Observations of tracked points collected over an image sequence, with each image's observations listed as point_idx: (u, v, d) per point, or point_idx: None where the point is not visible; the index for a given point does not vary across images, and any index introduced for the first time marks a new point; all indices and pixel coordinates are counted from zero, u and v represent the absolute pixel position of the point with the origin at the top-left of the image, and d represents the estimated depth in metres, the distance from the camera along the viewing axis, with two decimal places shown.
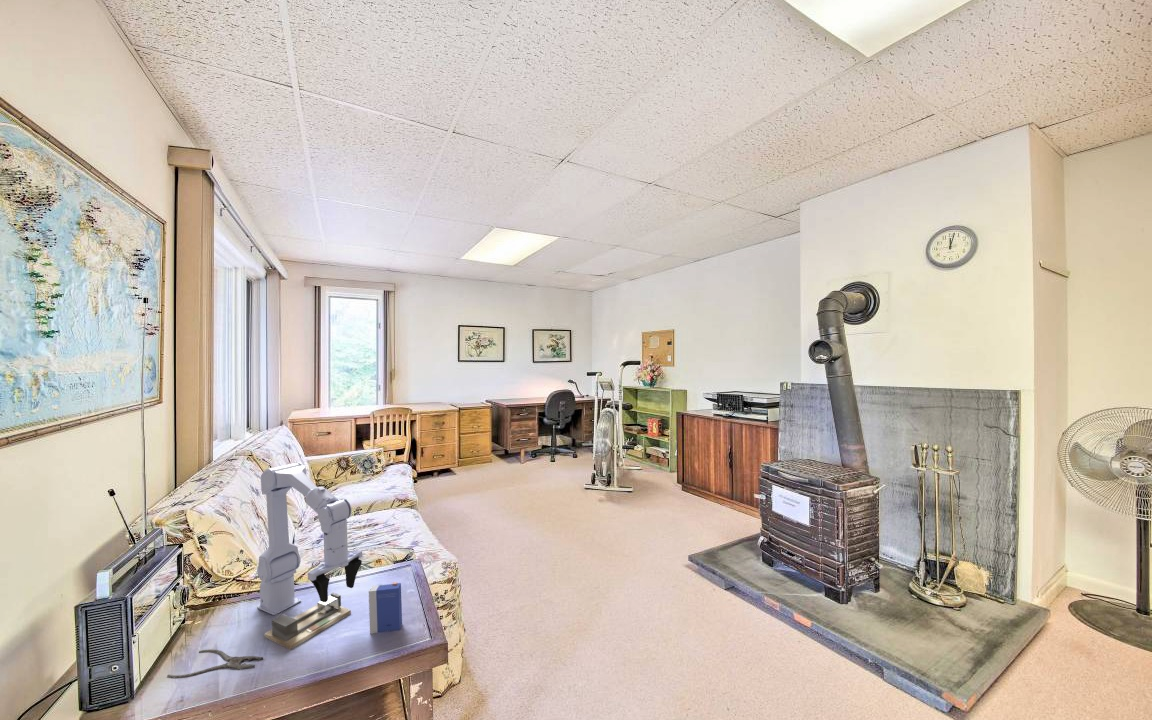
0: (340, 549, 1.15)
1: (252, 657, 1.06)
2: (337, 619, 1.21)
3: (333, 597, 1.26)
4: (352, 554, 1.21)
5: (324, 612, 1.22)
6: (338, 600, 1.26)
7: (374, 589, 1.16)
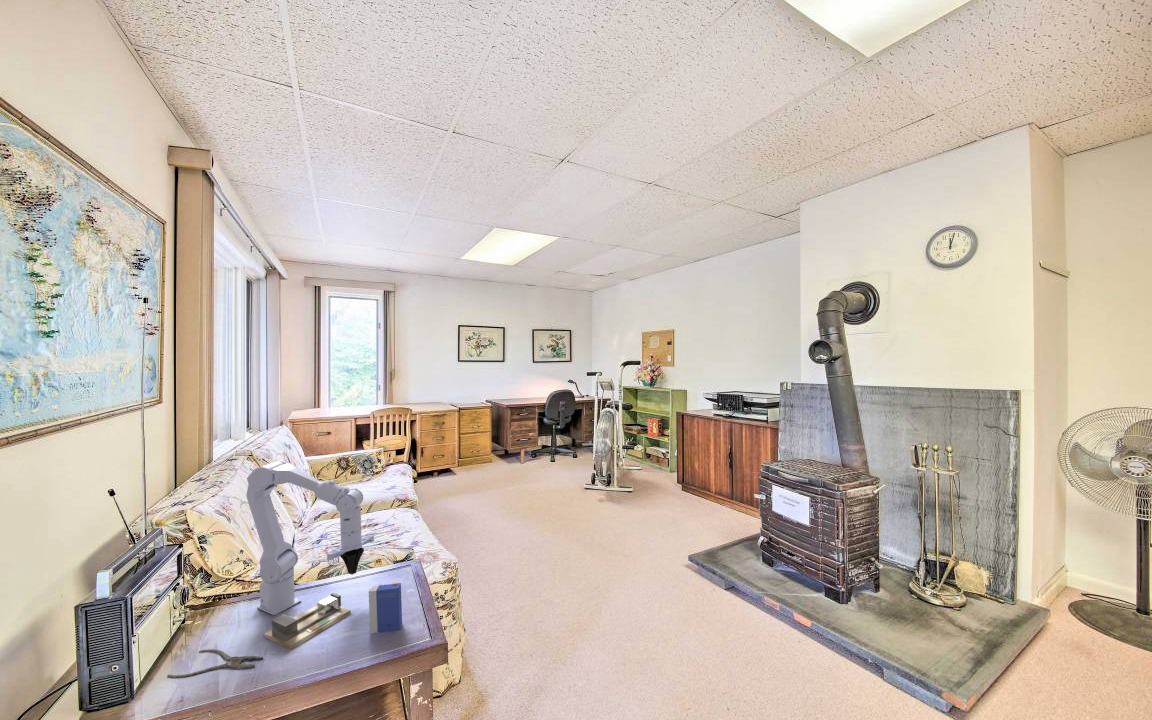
0: (355, 533, 1.30)
1: (252, 657, 1.06)
2: (337, 619, 1.21)
3: (333, 597, 1.26)
4: (365, 538, 1.36)
5: (324, 612, 1.22)
6: (338, 600, 1.26)
7: (374, 589, 1.16)
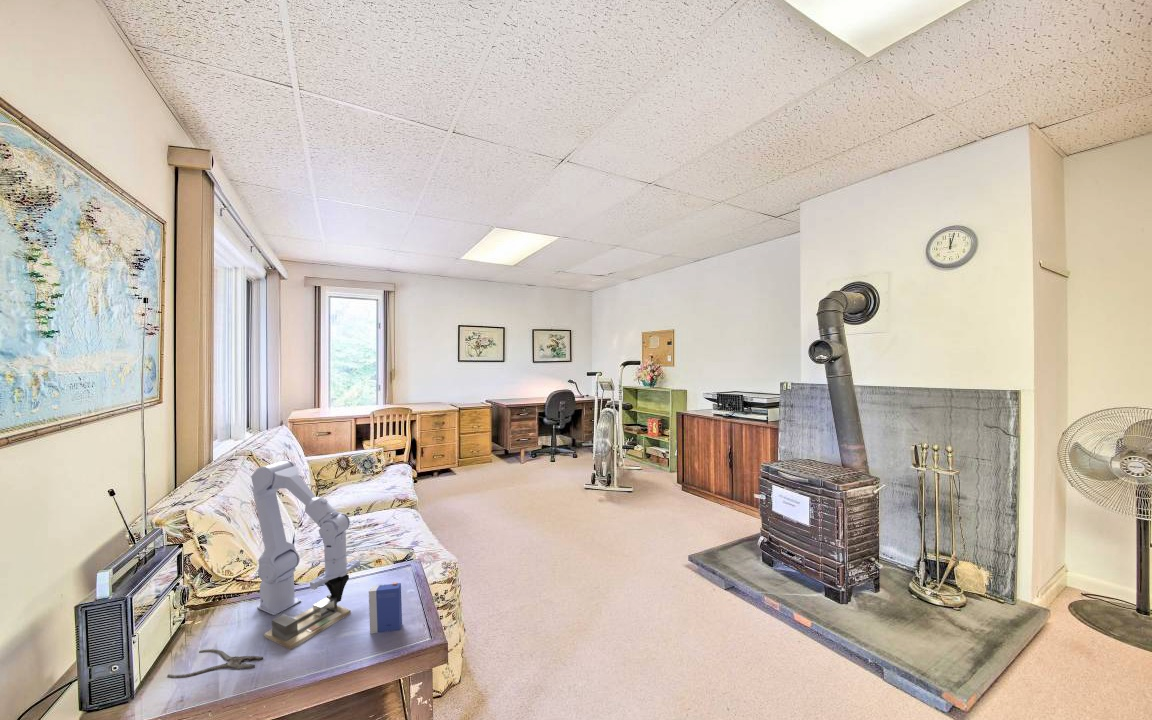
0: (339, 560, 1.25)
1: (252, 657, 1.06)
2: (337, 619, 1.21)
3: (329, 599, 1.25)
4: (350, 564, 1.31)
5: (320, 614, 1.21)
6: (334, 602, 1.25)
7: (374, 589, 1.16)
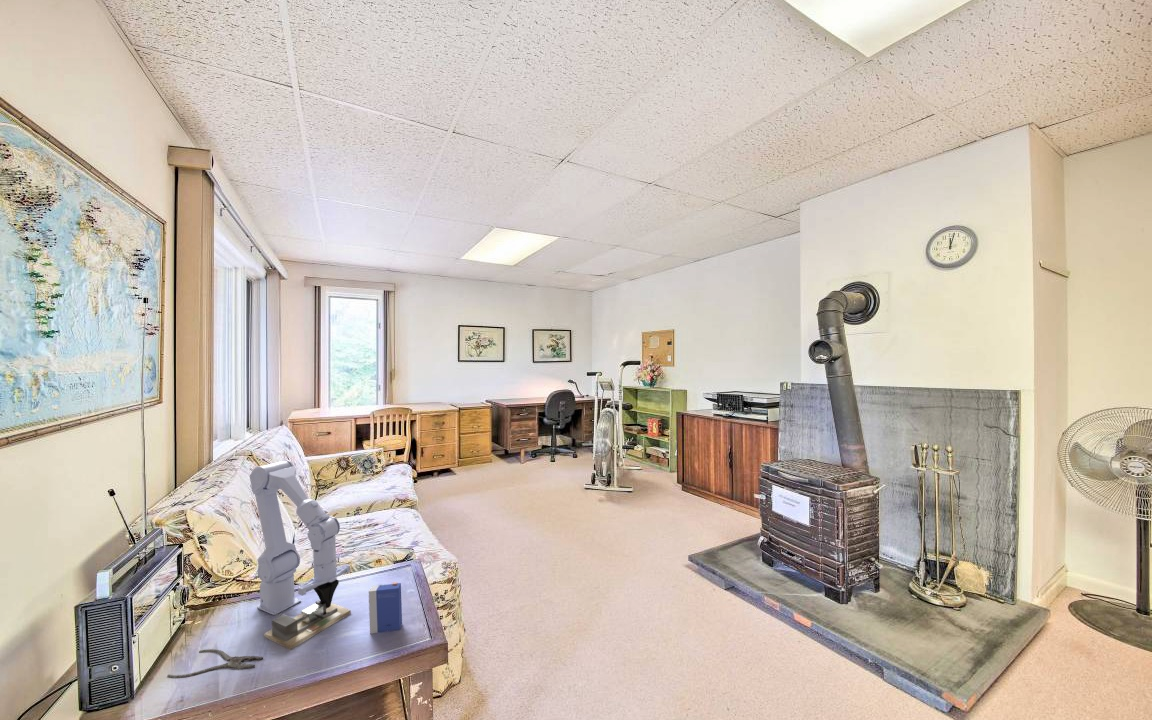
0: (329, 565, 1.23)
1: (252, 657, 1.06)
2: (337, 619, 1.21)
3: (318, 605, 1.22)
4: (340, 569, 1.28)
5: (308, 621, 1.18)
6: (323, 608, 1.22)
7: (374, 589, 1.16)
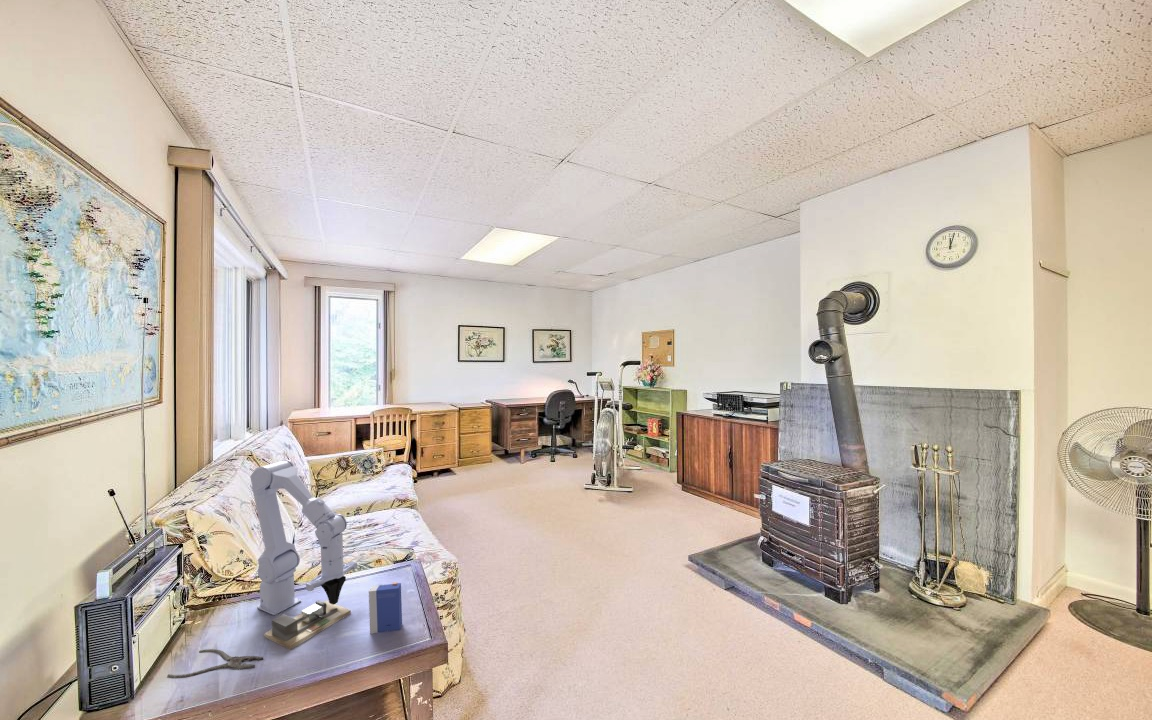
0: (336, 561, 1.24)
1: (252, 657, 1.06)
2: (337, 619, 1.21)
3: (318, 605, 1.22)
4: (347, 565, 1.30)
5: (308, 621, 1.18)
6: (323, 608, 1.22)
7: (374, 589, 1.16)
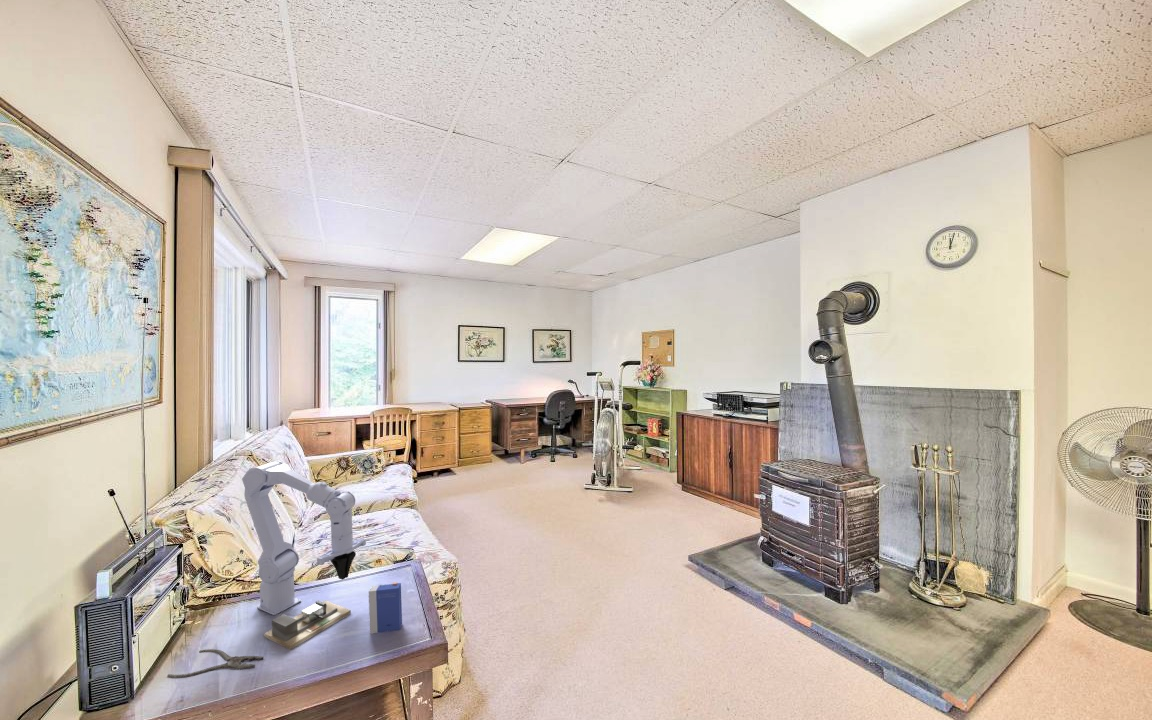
0: (346, 537, 1.27)
1: (252, 657, 1.07)
2: (337, 619, 1.21)
3: (318, 605, 1.22)
4: (356, 542, 1.33)
5: (308, 621, 1.18)
6: (323, 608, 1.22)
7: (374, 589, 1.16)
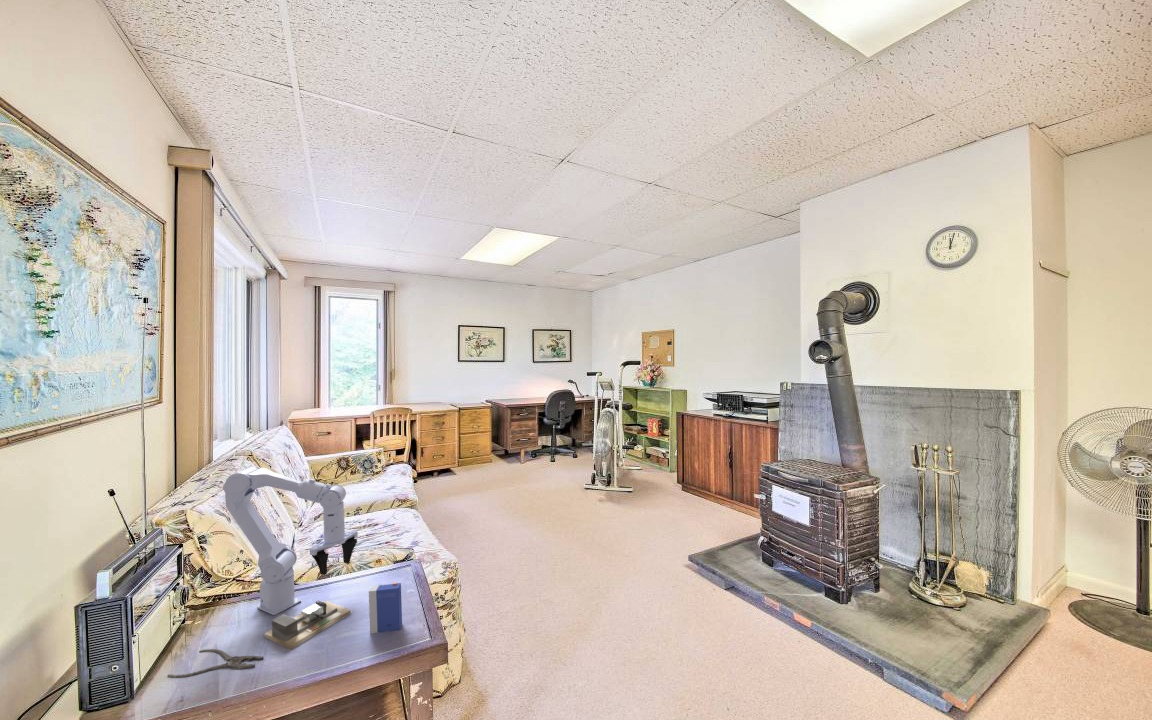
0: (338, 528, 1.31)
1: (252, 657, 1.07)
2: (337, 619, 1.21)
3: (318, 605, 1.22)
4: (348, 534, 1.37)
5: (308, 621, 1.18)
6: (323, 608, 1.22)
7: (374, 589, 1.16)
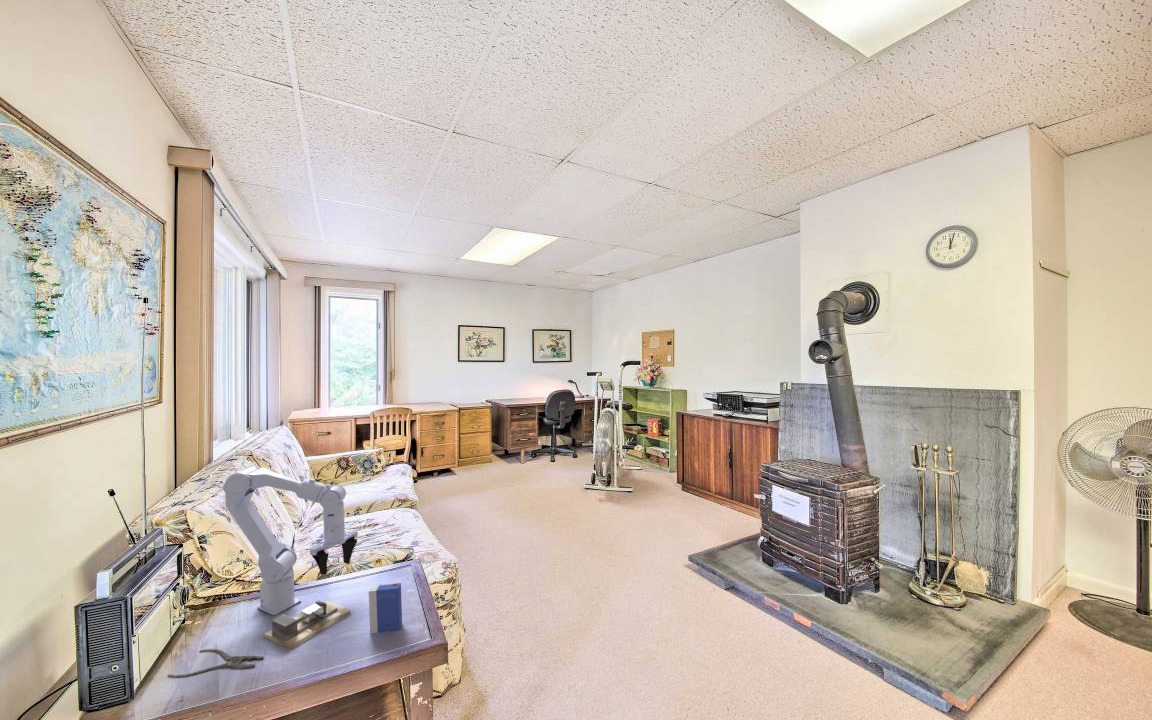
0: (338, 528, 1.31)
1: (252, 657, 1.07)
2: (337, 619, 1.21)
3: (318, 605, 1.22)
4: (348, 534, 1.37)
5: (308, 621, 1.18)
6: (323, 608, 1.22)
7: (374, 589, 1.16)
